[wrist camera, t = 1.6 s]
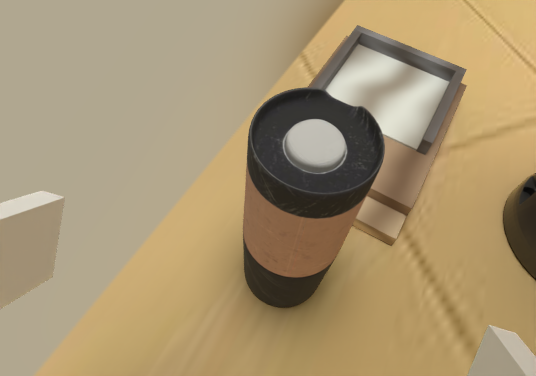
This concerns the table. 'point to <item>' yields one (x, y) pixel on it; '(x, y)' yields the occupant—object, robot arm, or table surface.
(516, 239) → the robot arm
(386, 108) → the dock
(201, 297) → the table surface
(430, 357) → the table surface
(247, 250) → the travel mug
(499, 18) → the table surface
